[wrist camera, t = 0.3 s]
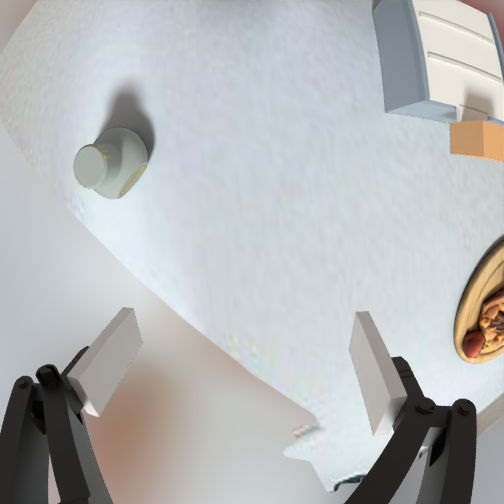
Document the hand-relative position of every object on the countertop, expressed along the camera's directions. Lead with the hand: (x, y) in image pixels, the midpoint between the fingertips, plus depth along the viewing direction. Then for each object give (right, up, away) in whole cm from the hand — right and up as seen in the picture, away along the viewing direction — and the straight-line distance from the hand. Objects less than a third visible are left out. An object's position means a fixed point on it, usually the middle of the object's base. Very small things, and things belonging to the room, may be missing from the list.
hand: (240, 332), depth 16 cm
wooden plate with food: (+56, -6, +28) cm, 63 cm away
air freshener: (-19, +19, +25) cm, 37 cm away
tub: (+28, +34, +15) cm, 46 cm away
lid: (+27, +28, +7) cm, 39 cm away
